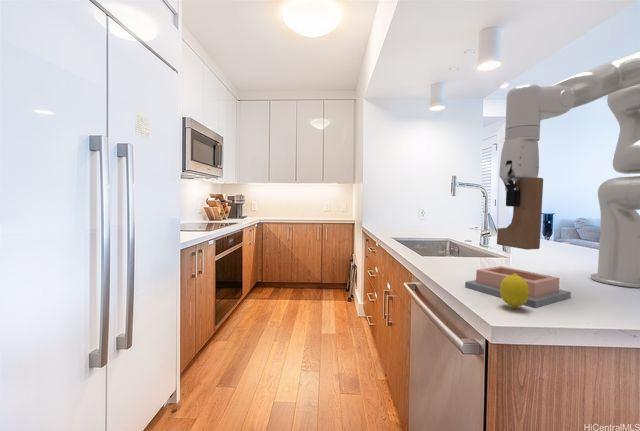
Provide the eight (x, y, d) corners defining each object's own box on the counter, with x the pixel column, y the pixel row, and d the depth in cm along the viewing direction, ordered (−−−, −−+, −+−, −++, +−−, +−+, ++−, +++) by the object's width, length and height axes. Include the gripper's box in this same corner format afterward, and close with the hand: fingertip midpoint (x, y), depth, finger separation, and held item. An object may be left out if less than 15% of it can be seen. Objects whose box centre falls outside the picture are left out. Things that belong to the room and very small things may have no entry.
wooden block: (496, 244, 83) (499, 179, 82) (508, 244, 85) (511, 179, 84) (527, 249, 75) (530, 177, 74) (540, 249, 76) (544, 177, 75)
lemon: (494, 303, 71) (496, 270, 71) (519, 304, 71) (521, 271, 70) (506, 312, 66) (508, 276, 65) (533, 313, 65) (535, 277, 65)
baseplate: (500, 280, 92) (500, 264, 92) (570, 297, 76) (571, 278, 76) (465, 287, 85) (465, 269, 84) (535, 307, 69) (536, 286, 68)
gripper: (525, 141, 85) (522, 206, 86) (487, 135, 78) (484, 206, 78) (555, 137, 79) (552, 206, 80) (517, 129, 71) (514, 206, 72)
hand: (518, 205), depth 79 cm, fingers closed on wooden block, 4 cm apart
